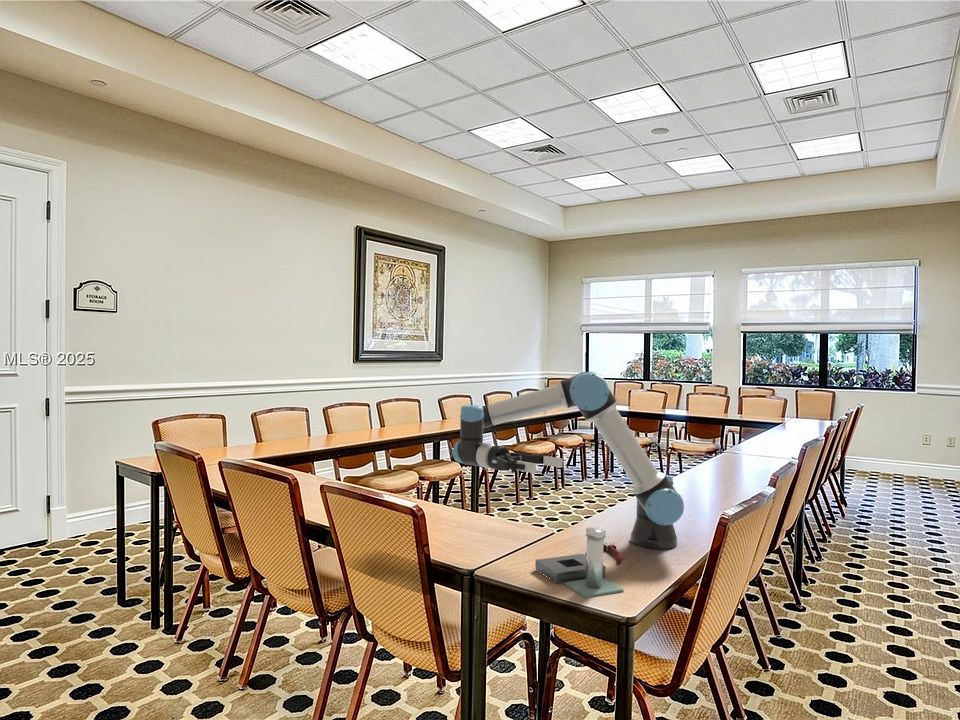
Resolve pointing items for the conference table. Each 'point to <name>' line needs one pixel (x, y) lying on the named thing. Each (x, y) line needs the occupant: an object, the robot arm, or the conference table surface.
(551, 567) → the socket plate
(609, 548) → the pliers
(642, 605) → the conference table surface
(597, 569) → the steel pin
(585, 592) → the rubber mat
